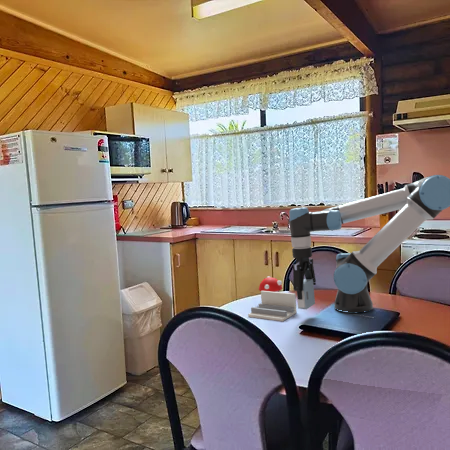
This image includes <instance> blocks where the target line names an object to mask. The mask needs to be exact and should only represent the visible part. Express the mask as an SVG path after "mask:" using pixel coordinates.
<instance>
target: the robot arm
mask: <svg viewBox="0 0 450 450" xmlns="http://www.w3.org/2000/svg"><path fill="white" fill-rule="evenodd" d="M448 208H450V177H447V176H445V175H443V174H433V175H428V176H426V177H423V178H421V179H419V180H416V181H414V182H412V183H407V184H404V187H403V188H400V189H395V190H391V191H388V192H385V193H382V194H377V195H373V196H370V197H366V198H363V199H357V200H355V201H352V202H348V203H344V204H341V205H336V206H333V207H327V208H324V209H323V210H321V211H310V210H309V208H308V207H294V208H291V209H290V210H289V211H288V212H289V213H288V215H289V228H290V229H289V230H290V238H291V239H290V241H291V247H292V251H291V252H292V257H293V259H296V260H295V261H296V262H295V264H293V265H292V273H293V275H292V277H293V278H292V279H293V280H292V283H293V284H292V285H293V288H292V289H293V291H294V292H296V297H297V298H296V300H297V299H298V300H297V308H298V307H302V308H305V296H304V291H303V282H304V279H313V286H316V285H317V283H316V282H317V280H316V274H315V268H314V267H315V266H314V259H313V258H311V257H312V256H313V248H312V238H311V232H322V231H324V232H325V231H326V232H327V231H337V230H341V229H342V225H343V224H347V223H351V222H355V221H358V220H363V219H367V218H371V217H376V216H380V215H382V214H387V213H390V212H395V211H397V213H396V214H395V215H393V216H392V218H391V219H390V220H389V221H388V222H387V223H386V224H384V225H383V227H381V229H380V230H379V231H378V232H377V233H375V234H374V236H372V238H371V239H369V240H368V242H366V243H365V245H364V246H363V247H361V249H359V250H355V251H354V250H353V251H352V252H348V253H346V252H345V253H338V254H336V259H335V262H336V267H335V270H334V271H333V272H334V273H333V282H334V285H335V286H336V288H337V291H336V296H335V300H334V305H333V306H334V309H335V308H336V309H338V310H342V311H348V312H364V311H369V310H371V309H372V310H374V304H373V300H372V297H371V296H370V293H369V291H368V290H369V289H368V283H369V282H370V281H371V279H372V278H374V276H375V275H377V272H378V271H377V270H378V269H377V268H378V267H379V266H380V265H381V264H382V263H383V262H385V260H386V259H387V258H388V257H389V256H390V255H391V254H392V253H393V252H394V251H395V250H396V249H398V247H399V246H401V244H402V243H403V242H405V241H406V240H408V238H409V237H410V236H411V235H412V234H413V233H414V232H415V231H416V230H417V229H418V228H419V227H420V226H421V225H422V224H424V223H425V221H428V220H434V219H435V218H436V217H437V216H438V215H440V213H441V212H442V211H443V210H447V209H448ZM336 309H335V310H336ZM372 310H371V311H372ZM369 312H370V311H369ZM364 313H365V312H364Z"/></svg>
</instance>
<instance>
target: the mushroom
mask: <svg viewBox="0 0 450 450" xmlns="http://www.w3.org/2000/svg"><path fill="white" fill-rule="evenodd" d="M282 283H283V282H282V280H278V279H277V278H276V277H272V276H266V278H263V279H262V281H260V283H259V286H258V291H259V292H261V291H271V292H280V291H281V290H283V286H282Z"/></svg>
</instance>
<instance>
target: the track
mask: <svg viewBox="0 0 450 450" xmlns="http://www.w3.org/2000/svg"><path fill="white" fill-rule="evenodd" d="M296 297H297V294H296V293H291V292H280V291H279V292H271V291H260V298H261V301H260V302H261V303H258V307H256V306H255V307H253V306H252V307H251V308H250V311H251V312H249V313H248V315H247V316H248V317H250V318H257V319H262V320H263V319H265V320H270V321H277V322H284V321H286V320H287V319H289V318H291V317H292V316H293V315H295V314H297V312H298V311H297V298H296Z"/></svg>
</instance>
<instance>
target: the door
mask: <svg viewBox="0 0 450 450" xmlns="http://www.w3.org/2000/svg"><path fill="white" fill-rule="evenodd" d="M314 286H315V285H313V279H306V278H304V282H303V291H304V296H305V308H302V307H298V306H297V309H300V310H308V309H309V308H311V307H312V306H314V305H315V304H316V299H315V288H314ZM296 301H298V299H297V298H296Z"/></svg>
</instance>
